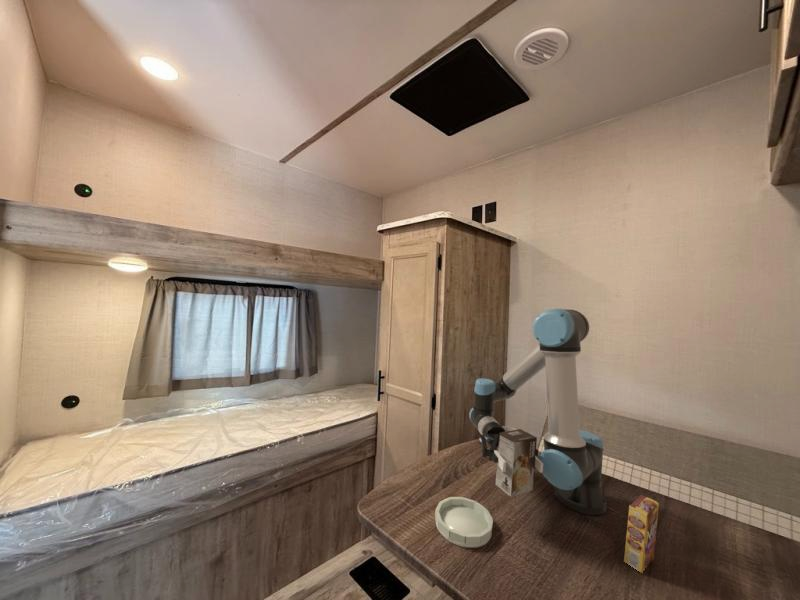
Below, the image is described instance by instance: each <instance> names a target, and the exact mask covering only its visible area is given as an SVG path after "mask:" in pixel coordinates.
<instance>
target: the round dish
mask: <svg viewBox="0 0 800 600" xmlns="http://www.w3.org/2000/svg"><path fill="white" fill-rule="evenodd" d="M434 519H435V527H436V528H437V531H438V532H439V533H440V535H441V536H442V537H443V538H444V539H445V540H447V541H448V542H450V543H452V544H454V545H456V546H458V547H461V548H466V549H468V548H469V549H475V548H480V547H484V546H485V545H487V544H488V543H489V541H490V540H491V538H492V535H493V528H494V527H493V526H494V525H493V524H494V519H493V517H492V515H491V513H490V512H489V510H488V509H487V508H486V507H485V506H484V505H482V504H480V503H479V502H478V501H476V500H473V499H471V498H467V497H464V496H449V497H446V498H444V499H443V500H441V501H439V502H438V504H437V506H436V508H435V512H434Z"/></svg>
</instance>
